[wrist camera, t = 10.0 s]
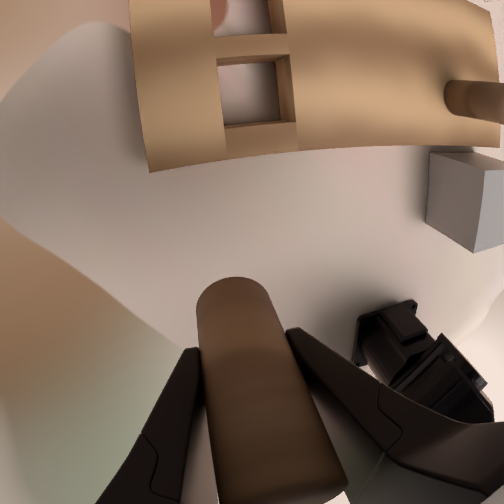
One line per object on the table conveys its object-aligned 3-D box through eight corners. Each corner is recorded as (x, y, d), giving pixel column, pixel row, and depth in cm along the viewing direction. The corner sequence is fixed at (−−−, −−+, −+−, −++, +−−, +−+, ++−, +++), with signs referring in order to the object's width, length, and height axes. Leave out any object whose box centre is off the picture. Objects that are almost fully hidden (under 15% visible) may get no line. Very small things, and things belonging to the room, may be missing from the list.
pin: (272, 329, 12) (340, 500, 5) (204, 343, 11) (232, 526, 5) (266, 269, 10) (357, 461, 4) (188, 284, 10) (207, 498, 4)
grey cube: (469, 214, 24) (514, 240, 19) (425, 223, 24) (473, 253, 18) (474, 152, 22) (525, 169, 16) (429, 152, 21) (485, 170, 16)
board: (475, 141, 21) (545, 163, 14) (155, 163, 18) (132, 198, 11) (465, 14, 16) (535, 9, 9) (135, -14, 13) (108, -76, 6)
